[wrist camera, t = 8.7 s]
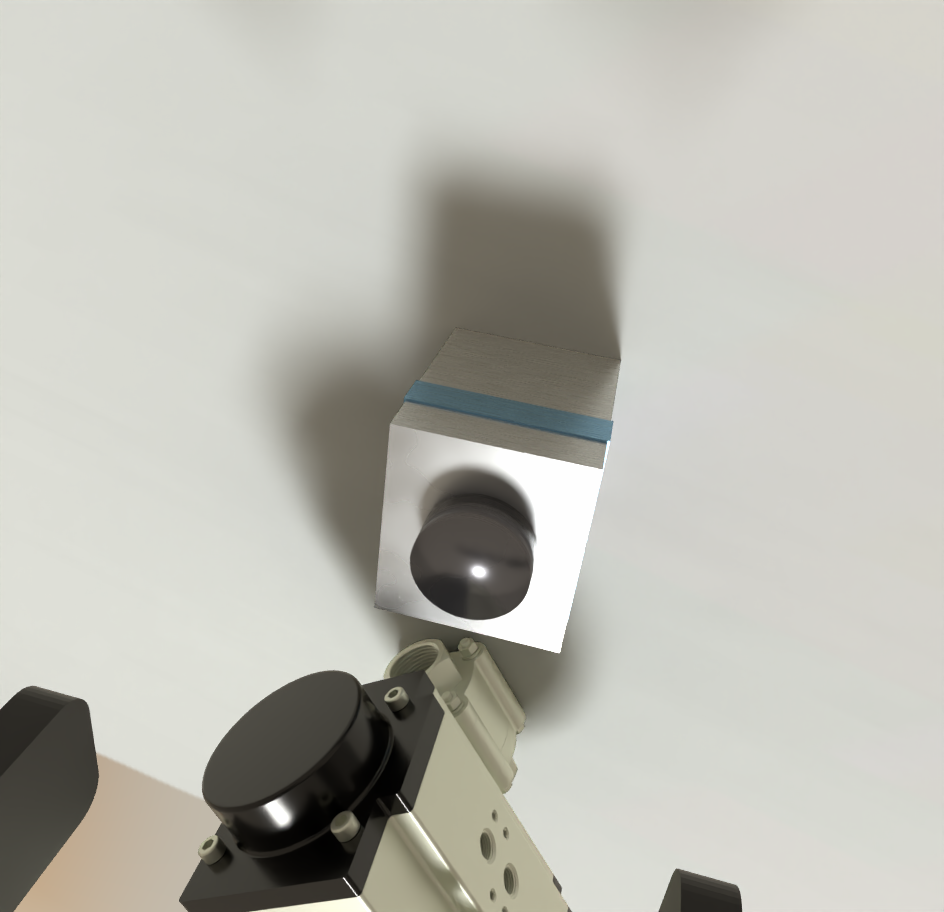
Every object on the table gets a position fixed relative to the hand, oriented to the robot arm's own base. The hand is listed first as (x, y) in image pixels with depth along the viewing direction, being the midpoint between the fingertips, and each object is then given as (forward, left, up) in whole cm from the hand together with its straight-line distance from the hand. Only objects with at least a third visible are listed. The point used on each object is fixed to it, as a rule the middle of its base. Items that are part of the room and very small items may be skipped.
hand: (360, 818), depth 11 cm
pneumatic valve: (0, +11, -14) cm, 18 cm away
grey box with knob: (0, +1, -14) cm, 14 cm away
